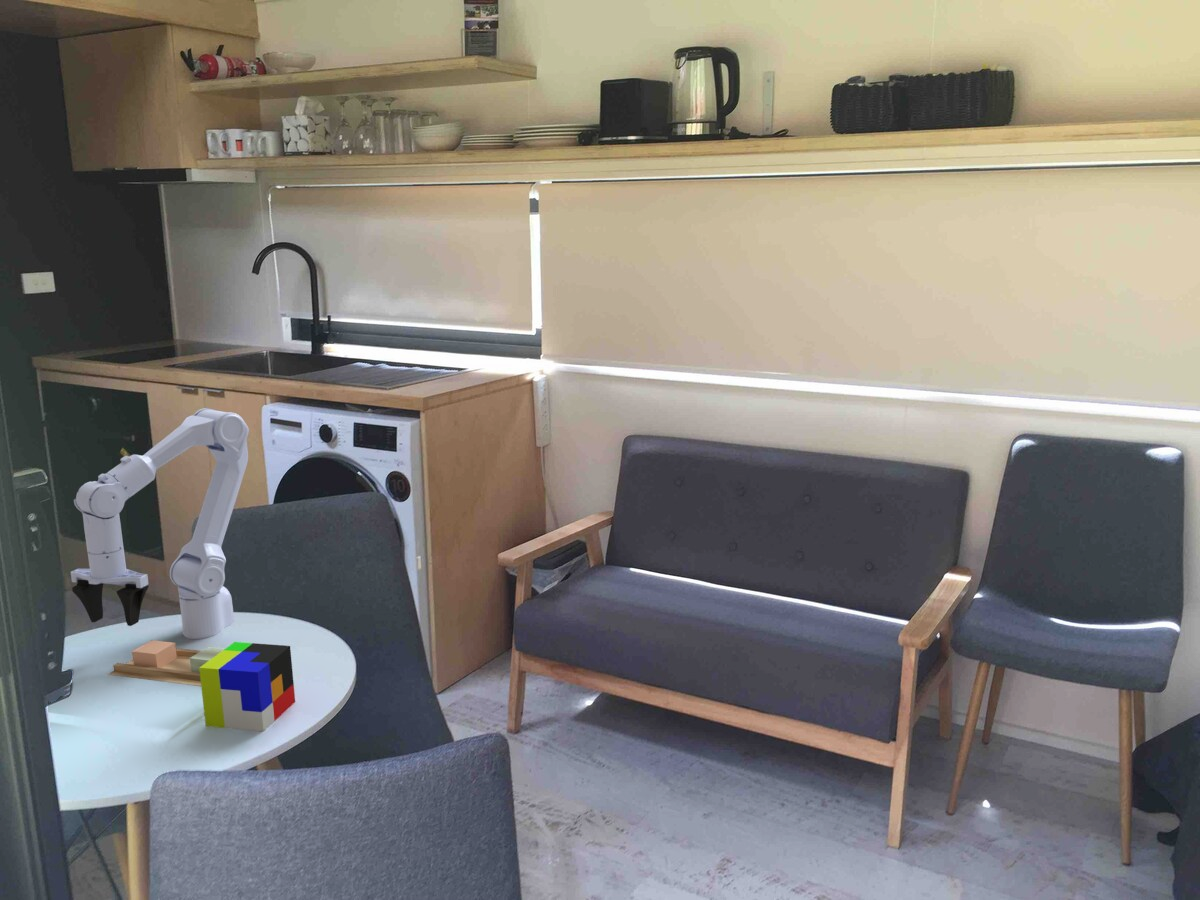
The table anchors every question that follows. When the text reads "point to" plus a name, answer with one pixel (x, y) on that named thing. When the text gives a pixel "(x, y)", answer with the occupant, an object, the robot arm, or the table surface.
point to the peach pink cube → (154, 654)
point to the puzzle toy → (247, 686)
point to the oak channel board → (171, 667)
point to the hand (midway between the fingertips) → (115, 622)
